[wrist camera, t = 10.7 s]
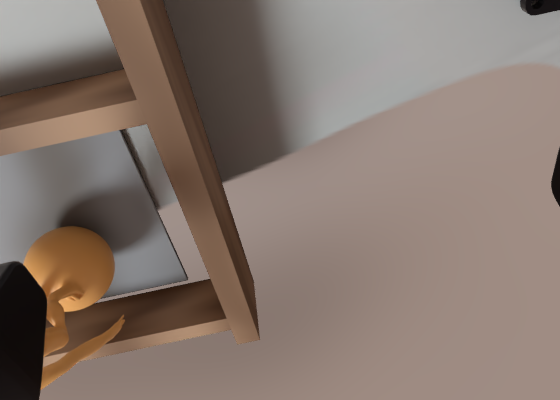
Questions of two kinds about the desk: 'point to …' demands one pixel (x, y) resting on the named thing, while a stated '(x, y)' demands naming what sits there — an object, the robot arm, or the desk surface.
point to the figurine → (71, 288)
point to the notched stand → (126, 190)
